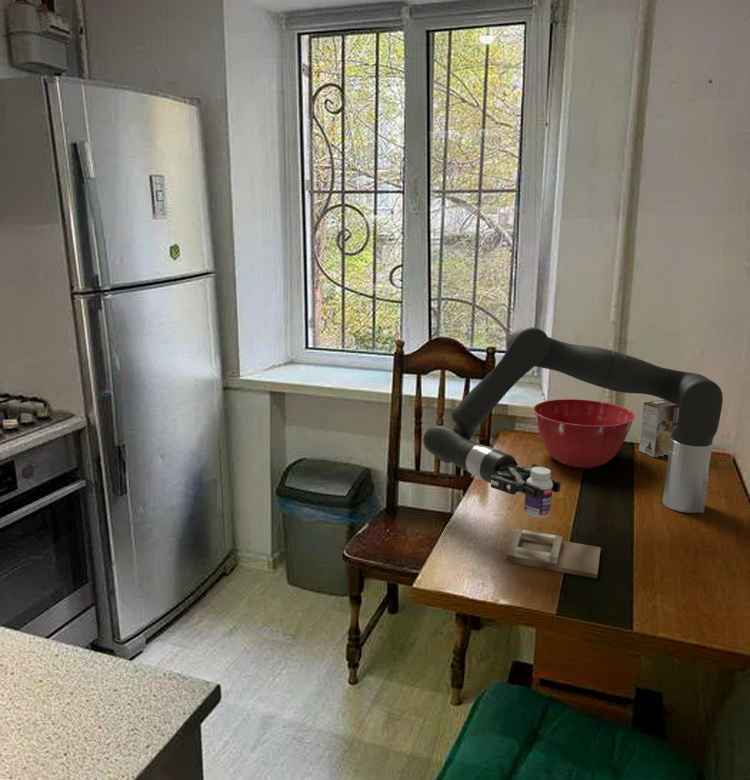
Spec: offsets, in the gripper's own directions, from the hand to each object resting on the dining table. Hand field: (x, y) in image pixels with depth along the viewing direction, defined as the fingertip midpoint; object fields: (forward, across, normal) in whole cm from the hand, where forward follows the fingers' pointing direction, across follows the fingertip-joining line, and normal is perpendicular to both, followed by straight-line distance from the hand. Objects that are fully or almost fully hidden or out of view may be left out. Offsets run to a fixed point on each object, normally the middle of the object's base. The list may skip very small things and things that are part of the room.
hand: (549, 490), depth 136 cm
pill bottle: (-3, 0, +6) cm, 7 cm away
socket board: (+1, +2, +15) cm, 15 cm away
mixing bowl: (-34, +54, +16) cm, 66 cm away
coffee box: (-25, +80, +16) cm, 85 cm away
